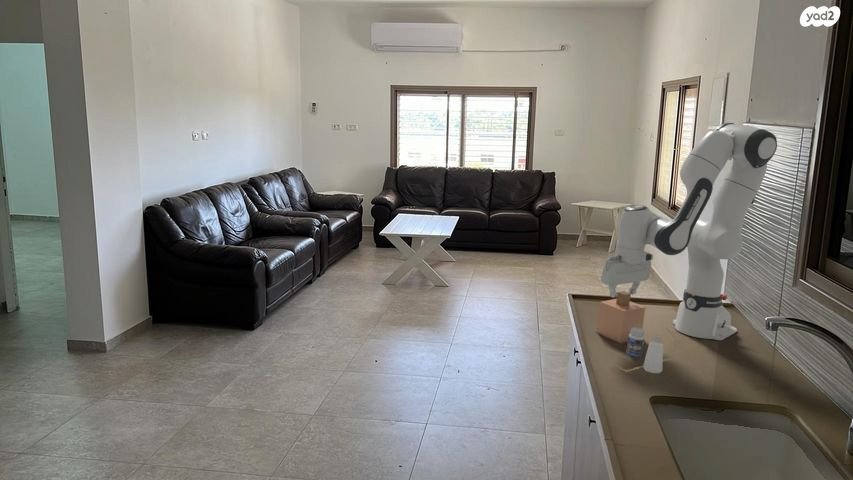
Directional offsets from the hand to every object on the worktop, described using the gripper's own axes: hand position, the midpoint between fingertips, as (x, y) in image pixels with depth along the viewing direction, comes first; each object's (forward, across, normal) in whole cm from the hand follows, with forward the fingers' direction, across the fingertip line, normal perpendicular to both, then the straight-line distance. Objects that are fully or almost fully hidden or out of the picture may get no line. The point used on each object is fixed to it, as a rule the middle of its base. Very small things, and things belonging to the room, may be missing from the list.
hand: (622, 295), depth 209 cm
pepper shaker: (+15, -11, -23) cm, 30 cm away
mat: (+14, +1, 0) cm, 14 cm away
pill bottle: (+15, -7, -13) cm, 21 cm away
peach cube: (+14, +1, 0) cm, 14 cm away
